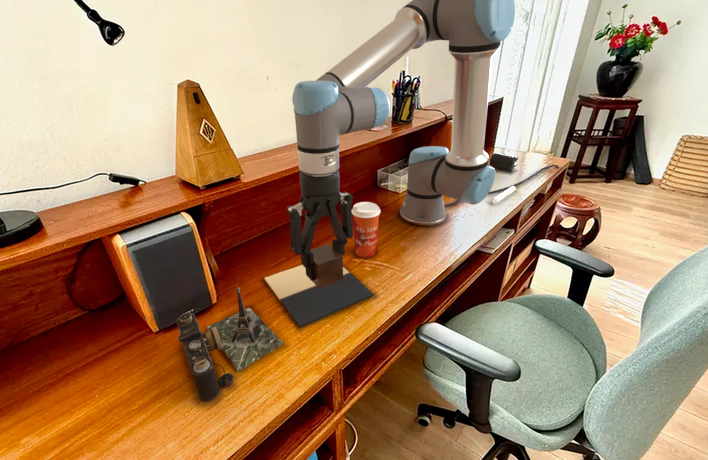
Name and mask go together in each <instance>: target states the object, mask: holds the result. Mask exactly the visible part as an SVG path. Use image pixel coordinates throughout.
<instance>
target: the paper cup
mask: <svg viewBox="0 0 708 460" xmlns="http://www.w3.org/2000/svg"><path fill="white" fill-rule="evenodd" d="M351 213H352V228H353V240H354V241H353V242H354V251H355V252H354V253H355V254H356V256H358V257H359V258H370V257H373V256H375V253H376V250H377V249H376V247H377V239H378V231H379V229H378V227H379V218H380V215H381V208H380V206H379V205H378V204H377V203H374V202H371V201H360V202H357V203H355V204H354V205H353V207H352V208H351Z"/></svg>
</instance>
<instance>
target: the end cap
mask: <svg viewBox="0 0 708 460" xmlns="http://www.w3.org/2000/svg"><path fill="white" fill-rule="evenodd" d="M518 160H519V157H518V156H516V155H506V154H505V153H502V152H499V153H496V152H494V153H492V155H491V156H490V158H489V166H491V167H493V168H494V169H495V170H500V171H504V172H508V173H513V172H514V171H516V167H517V164H518V163H516V162H517V161H518Z"/></svg>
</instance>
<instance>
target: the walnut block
mask: <svg viewBox="0 0 708 460" xmlns="http://www.w3.org/2000/svg"><path fill="white" fill-rule="evenodd" d="M310 251H311V252H312V253H313V256H314V273H315V280H313V281H312V282H313V283H314V284H315V285H316V286H317V287H318V288H322V287H324V286H327V285H330V284H332V283H335V282H337V281H340V280H342V279H343V267H344V256H343V255H341V254H340V253H339V252H337V251H336V250H335V249H334V248H333V247H332V246H331V244H329V243H327V244H324V245H321V246H318V247H314V248H311V249H310Z"/></svg>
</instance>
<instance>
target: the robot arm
mask: <svg viewBox="0 0 708 460" xmlns="http://www.w3.org/2000/svg"><path fill="white" fill-rule="evenodd" d="M515 16H516V2H515V0H411V1H410V2H408V3H406V4H405V5H404V6H403V7H401V8H400V9H399V10H397V12H396V14H395V16H394V20H392V21H391V22H390V23H388V24H387V25H386V26H385V27H382V29H380V31H377V32H376V33H375V34H374V35H373V36H372V37H370V38H369V39H368V40H366V41H365V42H364V43H362V44H361V45H360V46H358V47H357V48H356V49H355V50H353V51H352V52H351V53H349V54H348V55H346V57H345V58H343V59H342V60H340V61H339V62H338V63H336V65H334V66H333V67H331V68H329V70H328V71H326V72H325V73H323V74H322V75H321V76H319V77H318V78H317V79H315V80H303V81H299V82H298V83H297V84H295V86H294V89H293V92H292V97H291V98H292V99H291V100H292V104H293V114H294V121H295V134H296V144H297V161H298V170H299V171H300V172H299V186H300V194H301V196H300V199H299V202H298V203H296V204H294V205H291V204H290V205H287V207H286V211H287V213H288V216H289V237H290V238H289V239H290V240H289V241H290V250H292V252H293V253H294V254H295V255H296V256H300V263H301V265H303V266H304V267H305V268H306V275H307V276H308V278H309V279H310V280H311V281H313V280H315V273H314V256H313V253H312V252H311V251H310V250H312V244H313V240H314V236H315V231H316V228H317V225H318V224H319V221H320V219H322V218H323V217H327V220H328V222H329V225H330V227H331V229H332V232H333V235H334V239H332V240H331V245H332V247H333V248H334V249H335V250H336V251H337V252H339V253H340V254H341V255H342V256H343V255H345V253H346V245H347V244H348V243H349V241H348V239H351V238H353V237H354V228H353V214H352V212H351V211H352V204H353V199H354V196H353V195H352V194H350V193H348V192H346V191H342V192H340V188H341V179H340V177H341V175H340V171H339V170H340V136H341V135H342V136H343V135H346V134H352V133H357V132H361V131H367V130H368V131H370V130H373V129H375V128H377V127H381V126H383V125H384V124H386V122H387V121H388V119H389V116H390V110H391V109H390V108H391V104H390V100H389V98H388V95H387V94H386V92H385V91H384V90H382V88H380V87H370V86H368V85H369V84H371V83H372V82H373V81H374V80H376V79H377V78H378V77H379V76H381V75H382V74H383V73H384V72H385V71H387V70H388V69H389V68H390V67H391V66H392V65H394V64H395V63H396V62H397V61H399V60H400V59H401V58H402V57H403V56H405V55H406V54H407V53H408V52H410V51H412V50H417V49H420V48H421V47H423V46H424V45H425V44H427V43H430V42H434V41H447V42H448V53H449V54H450V55H451V56H452V57H453V59H454V67H453V68H454V69H453V70H454V72H453V92H452V93H453V94H452V96H453V97H452V121H451V143H450V144H451V146H450V151H449V149H448V148H447V147H446V146H440V145H439V146H438V145H437V146H435V145H430V146H429V145H428V146H421V147H418V148H414V149H413V150H411V152H410V154H409V159H408V162H407V163H408V166H407V167H408V169H407V184H406V185H407V186H406V194H405V197H404V199H403V201H402V205H401V206H400V210H399V217H400V218H401V220H402V221H404V222H406V223H408V224H411V225H413V226H419V227H433V226H438V225H441V224H443V223H444V222H445V221H446V219H447V210H446V208H445V207H451V206H454V205H456V204H457V203H459V202H461V203H464V204H468V205H470V206H471V205H473V206H474V205H479V204H480V203H481V202H482V201H484V200H485V199H486V197H487V196H488V195H492V194H495V193H499V192H504V191H505V190H507V189H508V188H510V187H512V186H515V187H517V186H519V185H522V184H524V183H525V182H527V181H528V180H530V179H532V178H534V177H535V176H537V174H540V173H541V172H543V170H547V169H549V168H552V167H555V168H556V169H559V165H558V164H550V165H547V166H544V167H542V168H540V169H539V170H538V171H536V172H534V173H532V175H530V176H528V177H526V178H524V179H522V180H521V181H519V182H516V183H514V184H512V185H509V186H506V187H503V188H499V189H496V190H492V188H493V186H494V183H495V181H496V176H497V172H496V169H495V168H493V167H491V166H490V165H489V160H490V157H489V154H488V153H487V152H486V151H485V140H486V139H485V138H486V127H487V118H488V106H489V97H490V96H489V95H490V84H491V75H492V74H491V73H492V65H493V57H494V55H495V54H496V53H497V52H498V51H499V50H500V49H501V42H503V41H505V40H506V39H507V38H508V37H509V36H510V34H511V31H512V28H513V26H514V22H515ZM444 196H445V197H448V198H450V199H454V200H455V201H452V202H450V203H445V201H444V200H445V199H444ZM338 205H339V208H340V209H339V210H340V219H339V214H338V211H337V206H338ZM303 210H304V211H305V214H304V225H303V229H302V219H301V217H302V215H303V213H302V212H303ZM340 221H341V222H340Z"/></svg>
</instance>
